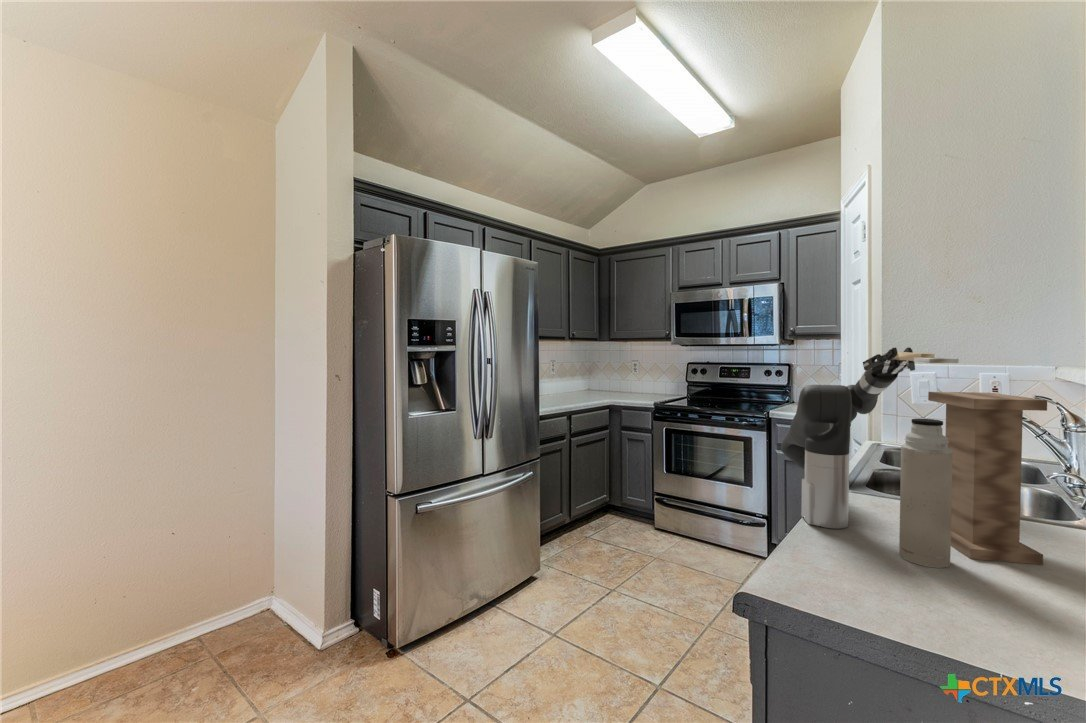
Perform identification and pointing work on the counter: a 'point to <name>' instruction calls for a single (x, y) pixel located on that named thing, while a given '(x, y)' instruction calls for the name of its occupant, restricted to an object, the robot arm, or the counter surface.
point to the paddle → (923, 358)
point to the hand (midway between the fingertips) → (902, 350)
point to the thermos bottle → (926, 495)
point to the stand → (987, 473)
